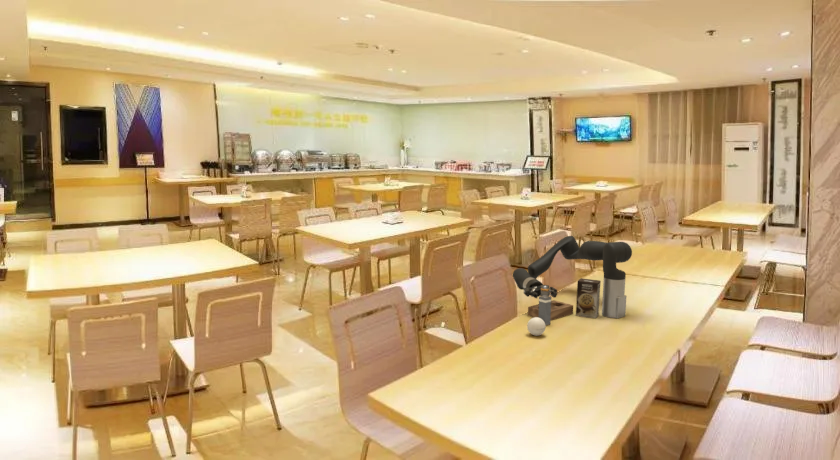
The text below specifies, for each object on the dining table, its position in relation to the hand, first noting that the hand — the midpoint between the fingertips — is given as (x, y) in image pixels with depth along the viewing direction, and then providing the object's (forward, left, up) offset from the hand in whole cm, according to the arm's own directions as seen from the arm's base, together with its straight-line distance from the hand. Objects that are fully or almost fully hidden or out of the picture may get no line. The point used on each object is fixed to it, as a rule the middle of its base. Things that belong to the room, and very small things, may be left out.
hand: (545, 295), depth 264 cm
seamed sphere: (-14, +21, -10) cm, 27 cm away
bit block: (+1, -5, -10) cm, 11 cm away
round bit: (+1, -1, -10) cm, 10 cm away
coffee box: (-10, -17, -10) cm, 22 cm away
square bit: (-6, +8, -10) cm, 14 cm away
